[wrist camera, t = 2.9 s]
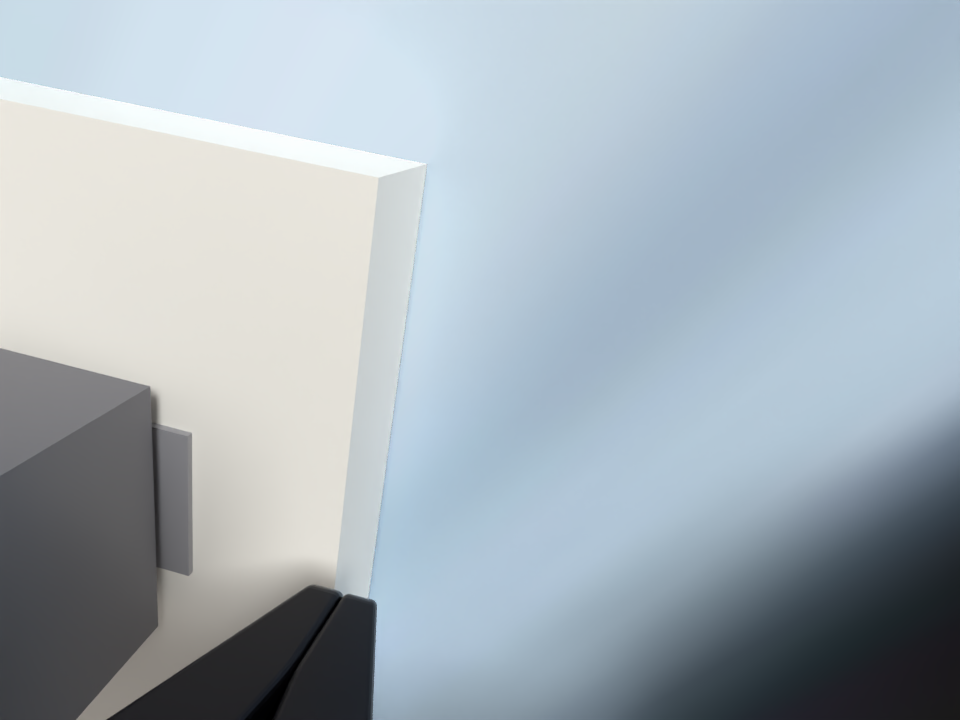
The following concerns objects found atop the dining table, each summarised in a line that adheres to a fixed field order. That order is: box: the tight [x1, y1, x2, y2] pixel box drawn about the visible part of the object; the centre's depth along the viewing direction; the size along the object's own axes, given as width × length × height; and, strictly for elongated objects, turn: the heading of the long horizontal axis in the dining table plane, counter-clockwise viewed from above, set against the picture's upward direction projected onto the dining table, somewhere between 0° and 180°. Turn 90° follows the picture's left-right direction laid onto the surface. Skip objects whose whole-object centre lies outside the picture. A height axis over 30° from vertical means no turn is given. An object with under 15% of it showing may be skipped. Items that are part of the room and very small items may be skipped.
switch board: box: [0, 77, 427, 720], centre depth 13 cm, size 14×24×2 cm, turn 170°
